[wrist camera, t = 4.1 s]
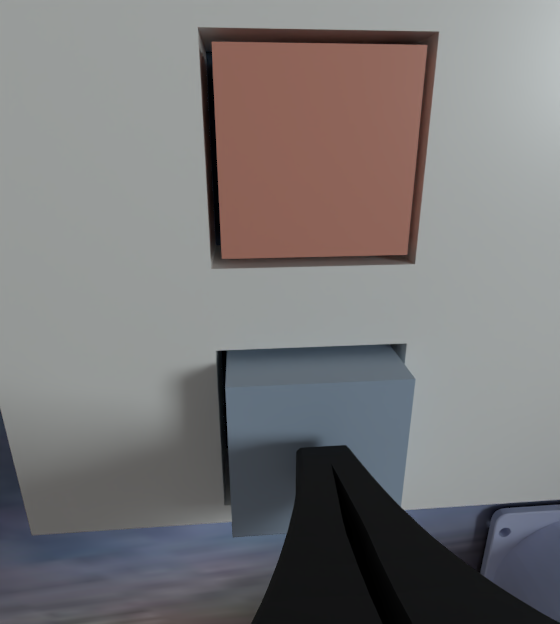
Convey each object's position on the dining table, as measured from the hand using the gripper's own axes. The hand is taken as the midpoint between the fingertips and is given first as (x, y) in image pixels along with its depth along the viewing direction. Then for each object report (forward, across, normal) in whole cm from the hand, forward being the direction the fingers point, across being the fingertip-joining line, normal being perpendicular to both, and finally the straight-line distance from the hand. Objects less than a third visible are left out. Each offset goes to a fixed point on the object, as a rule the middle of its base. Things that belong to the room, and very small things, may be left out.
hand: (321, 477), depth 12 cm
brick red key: (+5, 0, -8) cm, 9 cm away
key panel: (+5, 0, -4) cm, 7 cm away
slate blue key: (+3, 0, 0) cm, 3 cm away
